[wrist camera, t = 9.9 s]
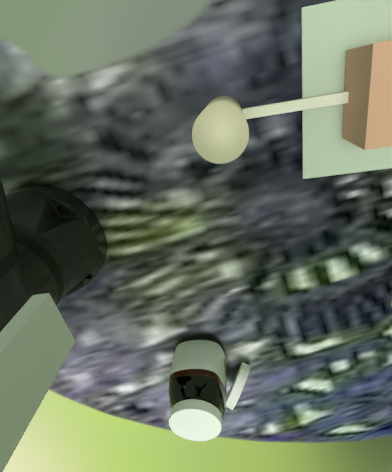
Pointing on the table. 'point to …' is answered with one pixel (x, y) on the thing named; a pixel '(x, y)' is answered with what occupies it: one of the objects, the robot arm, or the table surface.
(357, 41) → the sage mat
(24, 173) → the table surface
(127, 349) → the table surface
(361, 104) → the tan block and peg
